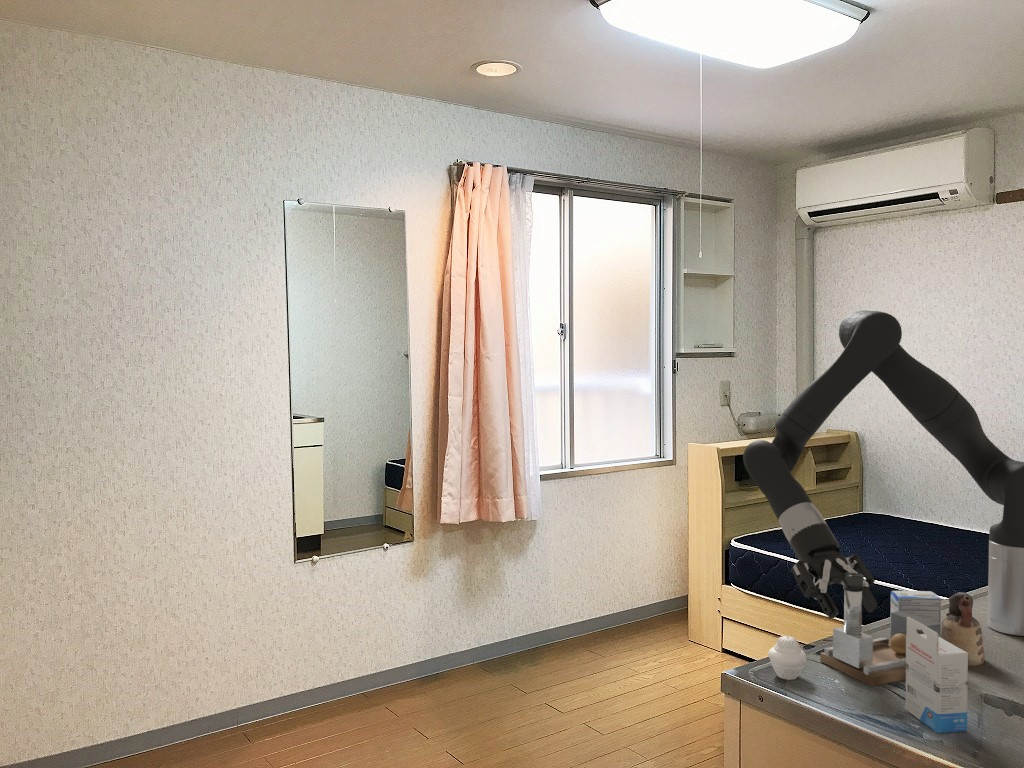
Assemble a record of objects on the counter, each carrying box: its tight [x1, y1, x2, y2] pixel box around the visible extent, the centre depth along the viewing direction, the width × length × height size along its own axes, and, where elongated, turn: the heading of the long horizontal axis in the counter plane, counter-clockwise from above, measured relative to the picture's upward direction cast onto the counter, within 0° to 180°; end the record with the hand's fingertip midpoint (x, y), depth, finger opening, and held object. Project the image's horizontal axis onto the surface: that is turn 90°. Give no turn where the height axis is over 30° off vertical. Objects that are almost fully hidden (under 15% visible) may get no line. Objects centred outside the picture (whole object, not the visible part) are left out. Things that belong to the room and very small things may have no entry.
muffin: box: [767, 635, 807, 681], centre depth 141 cm, size 6×6×7 cm
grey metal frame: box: [824, 611, 942, 675], centre depth 146 cm, size 18×10×6 cm, turn 112°
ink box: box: [905, 617, 969, 734], centre depth 124 cm, size 9×5×15 cm, turn 5°
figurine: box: [941, 591, 985, 667], centre depth 149 cm, size 7×7×12 cm
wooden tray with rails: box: [819, 633, 906, 687], centre depth 146 cm, size 18×12×5 cm, turn 112°
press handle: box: [832, 573, 874, 669], centre depth 143 cm, size 3×6×15 cm, turn 22°
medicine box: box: [889, 590, 942, 637], centre depth 159 cm, size 8×4×9 cm, turn 84°
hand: (854, 613), depth 142 cm, fingers open, 8 cm apart
